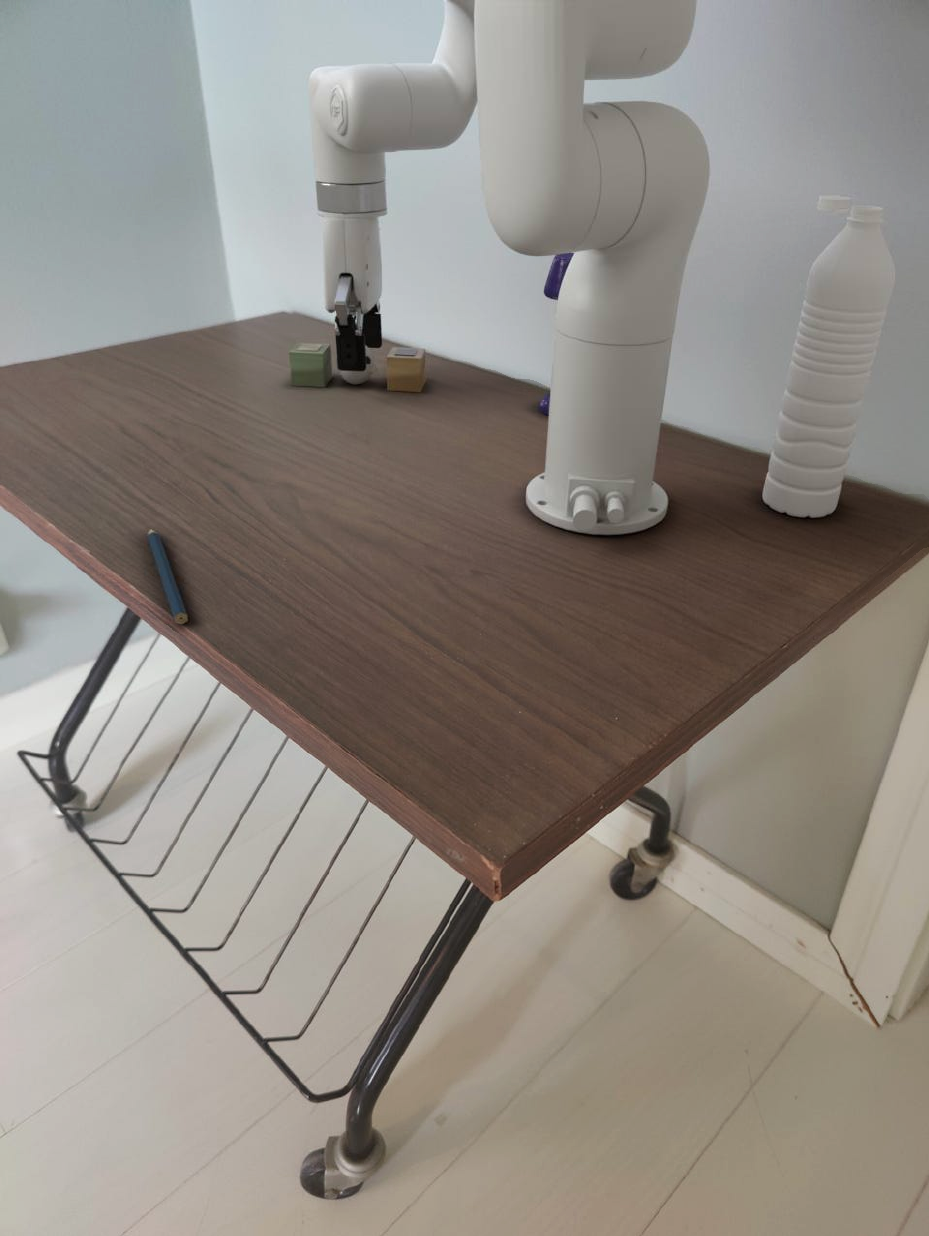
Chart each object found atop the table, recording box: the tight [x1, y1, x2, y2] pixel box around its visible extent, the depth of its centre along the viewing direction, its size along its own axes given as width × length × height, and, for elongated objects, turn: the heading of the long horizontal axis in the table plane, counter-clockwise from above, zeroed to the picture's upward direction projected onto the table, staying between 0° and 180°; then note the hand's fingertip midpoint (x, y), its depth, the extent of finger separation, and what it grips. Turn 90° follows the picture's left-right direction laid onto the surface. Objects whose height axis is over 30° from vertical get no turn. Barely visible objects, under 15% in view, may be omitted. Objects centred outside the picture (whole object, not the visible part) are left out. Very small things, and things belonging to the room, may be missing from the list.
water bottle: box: [762, 194, 896, 519], centre depth 77 cm, size 9×6×25 cm
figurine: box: [336, 345, 379, 385], centre depth 108 cm, size 5×5×5 cm
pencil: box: [147, 528, 189, 625], centre depth 70 cm, size 1×1×15 cm
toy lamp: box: [537, 252, 575, 416], centre depth 98 cm, size 5×5×17 cm
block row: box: [288, 342, 427, 393], centre depth 108 cm, size 4×16×4 cm, turn 84°
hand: (360, 358), depth 107 cm, fingers open, 9 cm apart
